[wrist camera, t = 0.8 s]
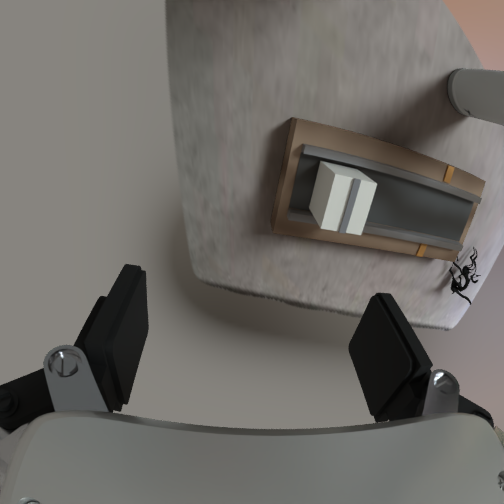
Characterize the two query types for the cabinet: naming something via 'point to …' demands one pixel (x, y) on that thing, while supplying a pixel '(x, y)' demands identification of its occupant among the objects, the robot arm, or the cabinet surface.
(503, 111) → the travel mug
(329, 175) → the fader tab
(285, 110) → the cabinet surface
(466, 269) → the creature
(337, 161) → the fader console
